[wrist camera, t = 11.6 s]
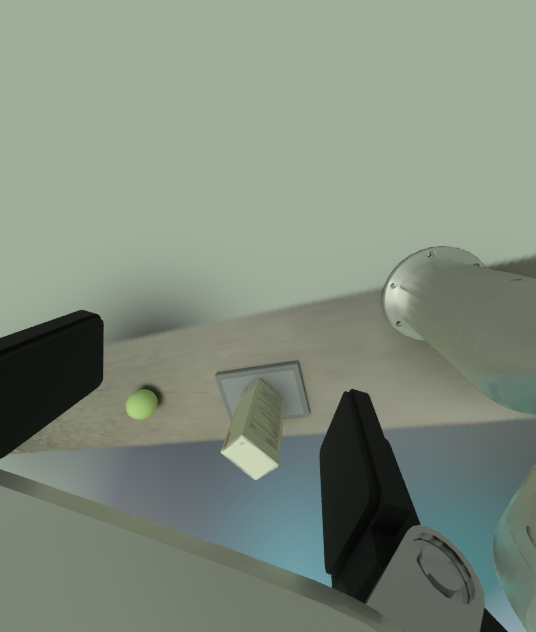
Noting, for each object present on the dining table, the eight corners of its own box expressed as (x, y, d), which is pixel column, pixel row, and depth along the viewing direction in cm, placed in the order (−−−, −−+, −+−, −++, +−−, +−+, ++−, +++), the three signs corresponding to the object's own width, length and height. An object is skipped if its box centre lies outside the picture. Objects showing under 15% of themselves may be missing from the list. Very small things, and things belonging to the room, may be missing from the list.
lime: (164, 388, 46) (147, 406, 41) (161, 409, 48) (145, 429, 43) (138, 380, 46) (119, 397, 42) (137, 402, 48) (118, 420, 43)
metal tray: (297, 360, 40) (297, 364, 39) (309, 412, 43) (309, 417, 42) (217, 372, 43) (214, 376, 42) (233, 420, 46) (231, 424, 45)
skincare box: (241, 391, 42) (217, 451, 31) (259, 376, 41) (239, 433, 29) (269, 415, 43) (255, 483, 32) (287, 402, 42) (279, 467, 30)
